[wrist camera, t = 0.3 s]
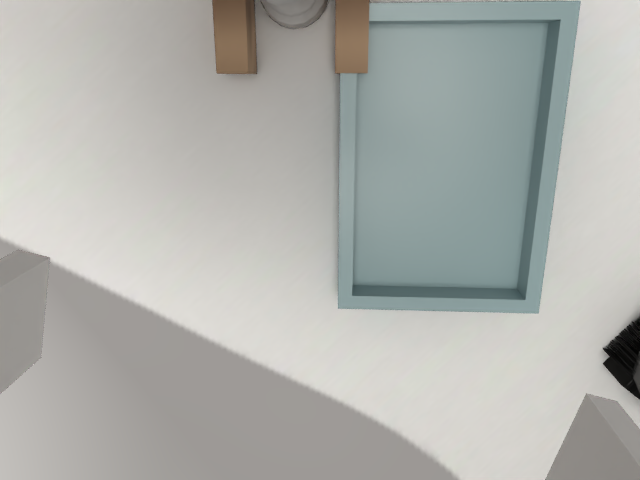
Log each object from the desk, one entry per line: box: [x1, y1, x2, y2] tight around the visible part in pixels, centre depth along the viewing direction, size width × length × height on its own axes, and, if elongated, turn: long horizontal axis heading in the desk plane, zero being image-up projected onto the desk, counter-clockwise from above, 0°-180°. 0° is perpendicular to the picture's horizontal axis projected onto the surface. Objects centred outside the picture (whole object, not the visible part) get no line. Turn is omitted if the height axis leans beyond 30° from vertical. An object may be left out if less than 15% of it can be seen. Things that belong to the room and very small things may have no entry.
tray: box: [338, 1, 581, 313], centre depth 35 cm, size 20×14×3 cm
